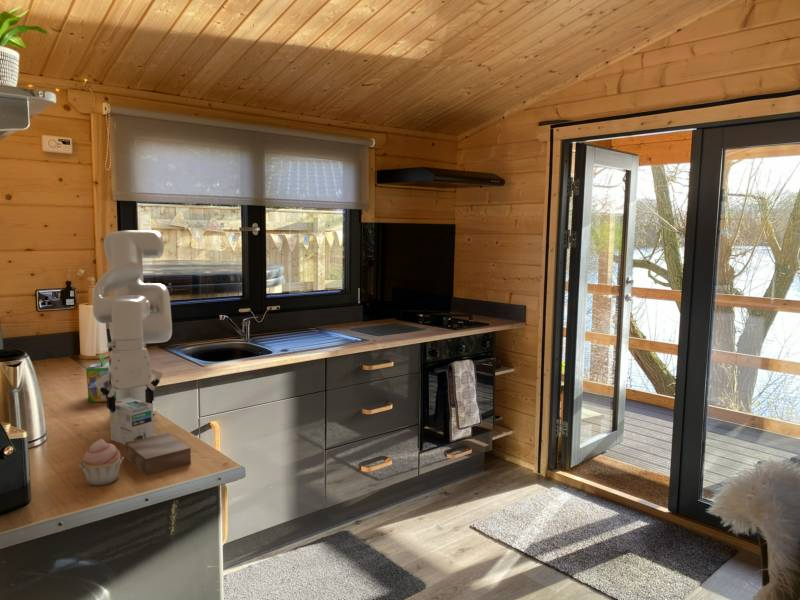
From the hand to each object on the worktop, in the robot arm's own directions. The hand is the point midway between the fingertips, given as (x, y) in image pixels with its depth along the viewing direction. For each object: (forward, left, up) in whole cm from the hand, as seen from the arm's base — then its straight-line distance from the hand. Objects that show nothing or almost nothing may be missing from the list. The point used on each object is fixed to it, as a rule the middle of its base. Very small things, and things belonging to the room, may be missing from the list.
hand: (131, 407), depth 170 cm
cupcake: (+21, -14, -10) cm, 27 cm away
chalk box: (-46, +7, -10) cm, 47 cm away
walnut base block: (+17, 0, -10) cm, 20 cm away
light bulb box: (-1, 0, -10) cm, 10 cm away
